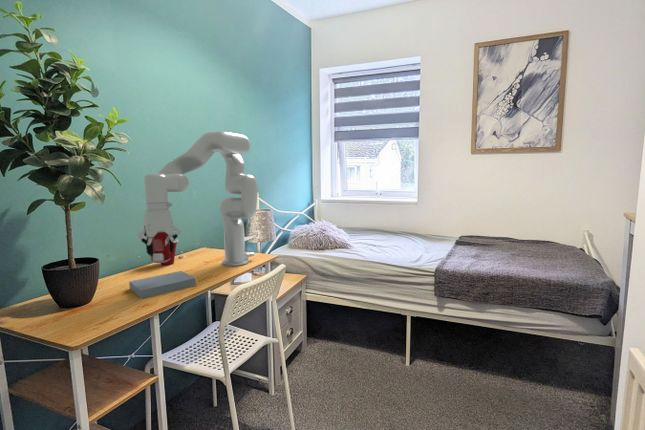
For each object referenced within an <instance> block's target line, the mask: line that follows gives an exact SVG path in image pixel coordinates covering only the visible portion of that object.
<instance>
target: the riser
mask: <svg viewBox="0 0 645 430" xmlns="http://www.w3.org/2000/svg"><path fill="white" fill-rule="evenodd" d="M196 279H197V277H195V276H193V275H190V274H188V273H187V272H185V271H183V270H179V271H174V272H170V273H164V274H159V275H154V276H149V277H144V278H140V279H135V280H129V283H128V284H129V290H131V292H133V293H134V294H135V295H137V296H138V297H139V298H140V299H145V298H149V297H154V296H159V295H161V294H166V293H171V292H175V291H178V290H182V289H183V290H184V289H187V288H191V287H195V286H197V280H196Z"/></svg>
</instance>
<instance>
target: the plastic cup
mask: <svg viewBox="0 0 645 430" xmlns="http://www.w3.org/2000/svg"><path fill="white" fill-rule="evenodd" d="M178 242H179V239H177V238H176V239H175V241H174V242H173V244H174V250H173V252H170V256H171V259H170V260H168V261H167V262H164V263H160V265H161V266H171V265H174V264H175V256H176V251H177V244H178Z"/></svg>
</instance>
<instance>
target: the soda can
mask: <svg viewBox="0 0 645 430" xmlns="http://www.w3.org/2000/svg"><path fill="white" fill-rule="evenodd" d="M151 245H152V250H153V255H152V256H150V259H151V262H152V263H155V264H161V263H164V262H167V261H168V260H170V259H171V256H170V241H169V235H168V234H167V233H166V231H160V232H157V234H156V235H155V236H154V237H153V238H152V242H151Z"/></svg>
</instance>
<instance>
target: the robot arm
mask: <svg viewBox="0 0 645 430" xmlns="http://www.w3.org/2000/svg"><path fill="white" fill-rule="evenodd" d="M250 148H251V142H250V140H249V138H248V137H247V136H246V135H244V134H240V133H233V132H228V131H220V130H219V131H210V132H205V133H204V134H202V135H201V136H200V137H199V138H198V139H197V140H196V141H195V142H194V144H193V145H192V146H191V147H190V148H189V149H188V150H187V151H185V152H183V153H182V154H180V155H179V156H177V157H176V158H174V159H173V160H171V161H169V162H168V163H167V164H166V165H164V166H163V167H162V168H161V169H160V170H159V171H158V172H157V173H148V174H145V176H144V179H143V180H144V192H145V193H144V194H145V205H146V210H144V212H143V217H142V218H143V220H142V229H141V230H140V231H139V232H138V233H137V234H136V238H137V239H138V240H139V241H140V242H142V243H144V244H145V247H146V254H148V256H149V257H151V256H152V255H153V250H152V245H151V242H152V238H153V237H154V236H155V235H156V234H157V232H160V231H166V233H167V234H168V235H169V241H170V252H173V250H174V244H173V242H174V241H175V239H177V238H178V237H179V235H180V233H181V232H182V231H181V229H179V228H178V227H176V226H175V225H174V219H173V215H172V211H171V209H170V207H172V206H173V203H172V202H169V197H168V195H169V194H168V193H182V192H184V191H186V190H187V189H188V187H189V186H190V185H189V184H190V181H189V178H188V177H187V176H186V175H185V174H187V173H190V172H191V173H192V172H193V171H196V170H199V169H201V168H203V167H204V165H206V163H207V162H208V161H209V160H210V159H211V158H212V156H213V155H214V154H215V153H220V154H221V156H222V158H223V159H224V161H225V168H226V169H225V179H224V180H225V182H224V183H225V185H224V188H225V191H226V193H228V194H229V195H234V196H235V195H237V196H238V195H239V196H241V197H234V196H233V197H225V198H224V199H223V200H222V201H221V203H220V206H219V207H220V213H221V214H220V215H221V219H222V224H223V240H224V241H223V242H224V243H223V245H224V247H223V248H224V259H222V261H221V265H223V266H227V267H236V266H237V267H238V266H244V265H247V264H249V260H250V259H249V258H251V257H255V253H254V252H252V251H251V252H246V245H245V243H246V241H245V238H246V237H245V225H244V222H243V219H247V220H248V219H251V218H253V217H255V215H256V212H257V211H256V210H257V208H258V207H257V205H258V204H257V203H258V190H259V186H258V185H259V184H258V181H257V179H256V178H255V176H253V175H251V174H245V172H246V171H245V169H246V168H245V165H246V164H245V162H244V159H243V157H242V156H241V155H244V154H246V153H248V152H249V150H250ZM143 236H144V237H146V238H144V237H143Z"/></svg>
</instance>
